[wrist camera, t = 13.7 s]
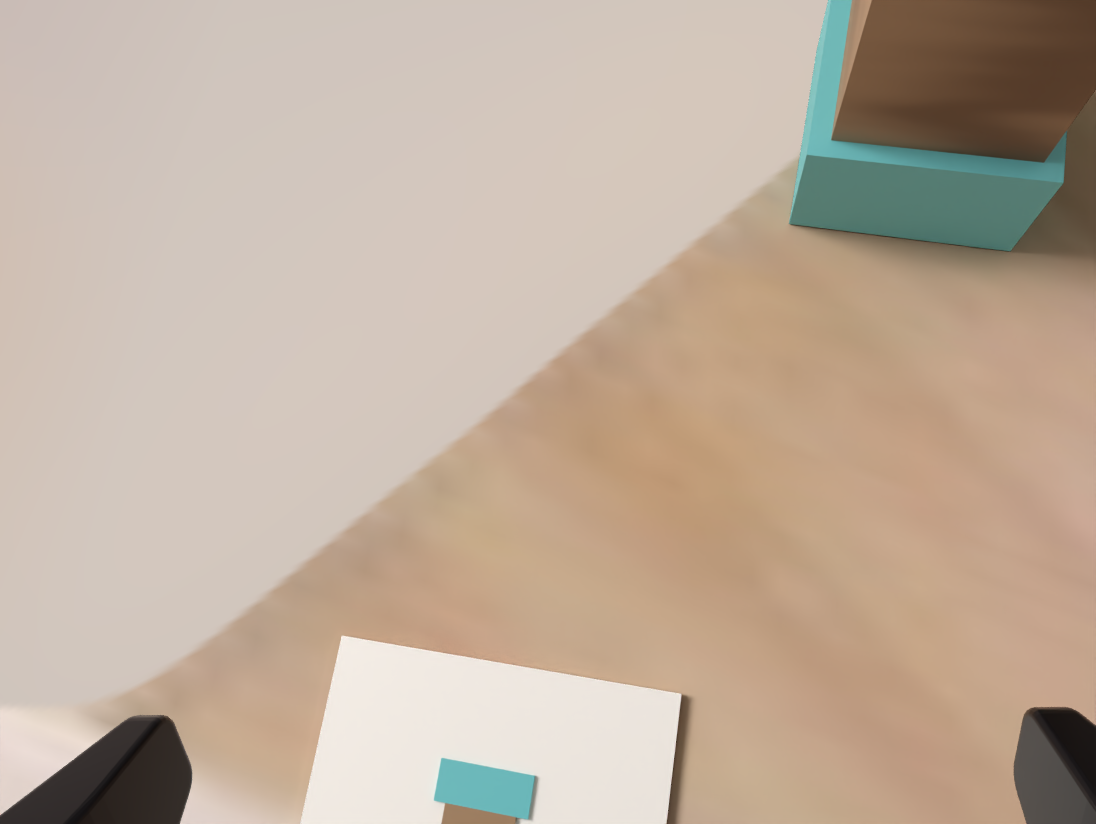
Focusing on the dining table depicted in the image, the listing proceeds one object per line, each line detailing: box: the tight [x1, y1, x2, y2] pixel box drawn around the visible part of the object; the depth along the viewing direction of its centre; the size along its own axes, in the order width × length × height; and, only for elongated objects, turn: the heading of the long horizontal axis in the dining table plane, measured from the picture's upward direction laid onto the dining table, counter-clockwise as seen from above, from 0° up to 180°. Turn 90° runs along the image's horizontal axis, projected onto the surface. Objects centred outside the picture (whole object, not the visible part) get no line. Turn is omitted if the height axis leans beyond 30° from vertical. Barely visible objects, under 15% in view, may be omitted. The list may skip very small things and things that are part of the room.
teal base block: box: [789, 0, 1067, 251], centre depth 24 cm, size 6×6×4 cm
